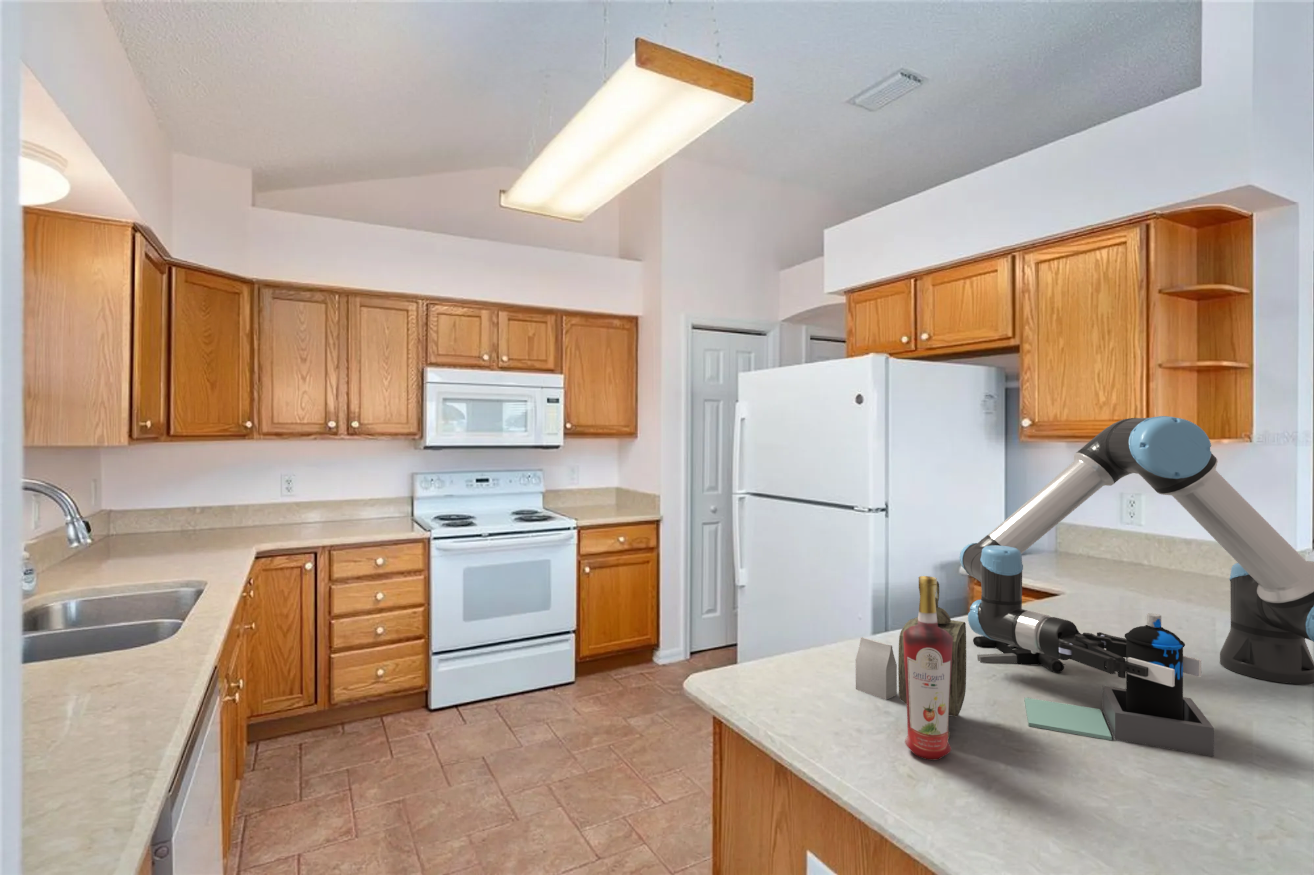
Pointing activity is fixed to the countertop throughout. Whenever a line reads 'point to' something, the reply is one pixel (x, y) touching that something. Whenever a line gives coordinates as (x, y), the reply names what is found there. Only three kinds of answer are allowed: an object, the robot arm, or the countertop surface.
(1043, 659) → the door handle
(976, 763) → the countertop surface
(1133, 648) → the aerosol can
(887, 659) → the tea bag
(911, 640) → the liquor
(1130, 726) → the grey square tray
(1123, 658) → the robot arm
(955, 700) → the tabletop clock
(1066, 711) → the occupied pad
